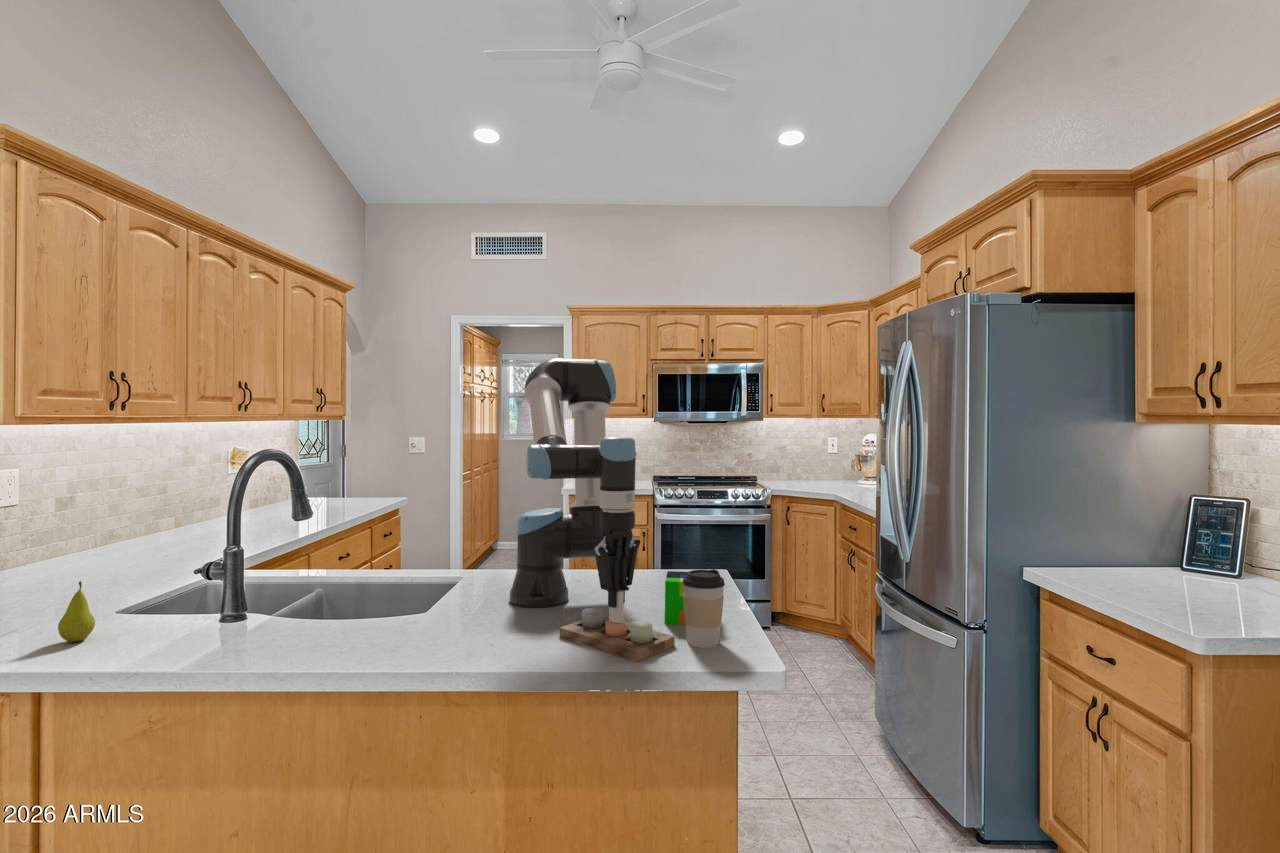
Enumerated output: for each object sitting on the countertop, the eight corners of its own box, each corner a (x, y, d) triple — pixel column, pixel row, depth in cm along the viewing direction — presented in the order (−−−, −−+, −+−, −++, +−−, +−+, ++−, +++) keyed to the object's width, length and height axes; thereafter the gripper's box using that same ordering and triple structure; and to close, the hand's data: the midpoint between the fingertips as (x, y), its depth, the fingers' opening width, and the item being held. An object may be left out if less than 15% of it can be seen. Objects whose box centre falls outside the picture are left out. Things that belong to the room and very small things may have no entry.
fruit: (64, 648, 126) (65, 588, 126) (52, 643, 128) (53, 584, 128) (100, 639, 131) (100, 582, 131) (88, 634, 133) (88, 578, 133)
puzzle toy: (707, 613, 154) (708, 572, 154) (708, 626, 144) (708, 582, 144) (667, 611, 155) (667, 571, 155) (664, 624, 145) (665, 581, 145)
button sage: (625, 641, 128) (626, 624, 128) (640, 635, 132) (640, 619, 132) (642, 646, 125) (643, 629, 125) (656, 640, 129) (656, 624, 129)
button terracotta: (600, 638, 133) (601, 622, 133) (615, 633, 136) (615, 617, 136) (616, 643, 130) (616, 627, 130) (630, 638, 133) (631, 622, 133)
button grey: (577, 626, 137) (577, 610, 137) (592, 621, 141) (592, 606, 141) (592, 630, 134) (592, 615, 134) (606, 625, 138) (606, 610, 138)
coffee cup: (696, 652, 127) (697, 578, 127) (673, 638, 135) (674, 568, 135) (732, 645, 131) (733, 573, 131) (708, 632, 139) (709, 565, 139)
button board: (559, 636, 136) (559, 627, 136) (597, 623, 145) (598, 614, 145) (637, 662, 121) (637, 652, 121) (674, 646, 131) (674, 636, 131)
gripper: (609, 514, 126) (608, 632, 125) (650, 508, 136) (649, 618, 135) (582, 511, 130) (581, 624, 130) (624, 505, 140) (623, 611, 140)
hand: (616, 621), depth 133 cm, fingers closed
